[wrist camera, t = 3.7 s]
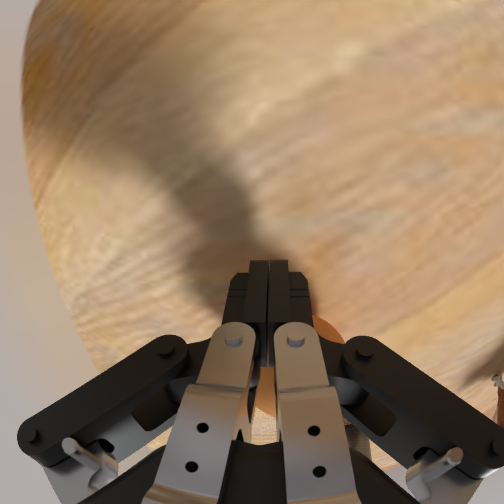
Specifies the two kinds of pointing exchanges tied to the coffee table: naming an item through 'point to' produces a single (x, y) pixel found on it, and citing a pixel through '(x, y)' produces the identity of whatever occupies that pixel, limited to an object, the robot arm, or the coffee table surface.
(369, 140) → the coffee table surface
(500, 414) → the bull figurine
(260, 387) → the ball
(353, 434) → the post
